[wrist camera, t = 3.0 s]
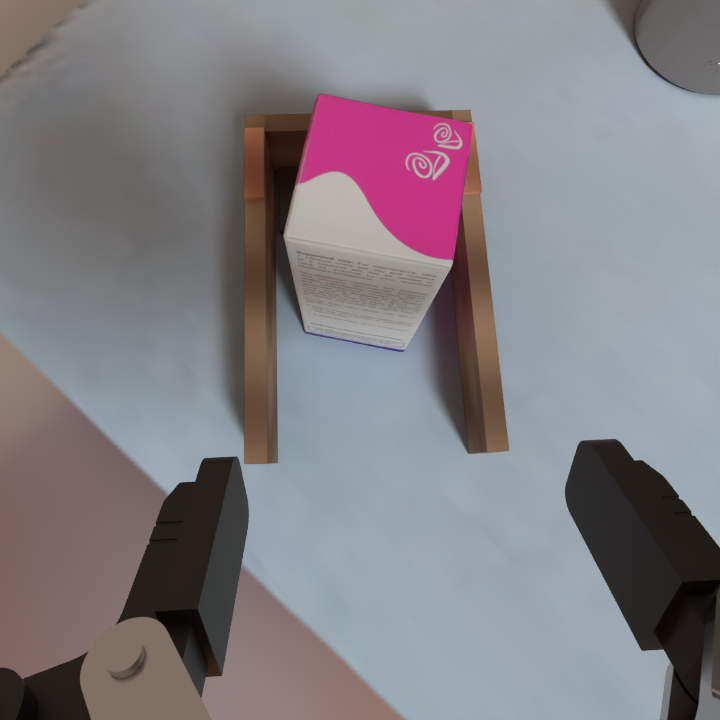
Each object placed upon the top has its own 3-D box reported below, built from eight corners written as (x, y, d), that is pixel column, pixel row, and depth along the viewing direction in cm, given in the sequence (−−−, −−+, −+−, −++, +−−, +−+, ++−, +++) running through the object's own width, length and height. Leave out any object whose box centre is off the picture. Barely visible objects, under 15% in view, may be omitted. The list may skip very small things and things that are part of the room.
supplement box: (408, 354, 26) (453, 272, 15) (302, 334, 26) (270, 238, 15) (424, 258, 28) (477, 116, 16) (324, 239, 28) (307, 86, 16)
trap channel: (257, 157, 29) (244, 111, 25) (456, 151, 29) (471, 105, 25) (258, 464, 25) (242, 463, 21) (487, 452, 25) (511, 450, 22)
